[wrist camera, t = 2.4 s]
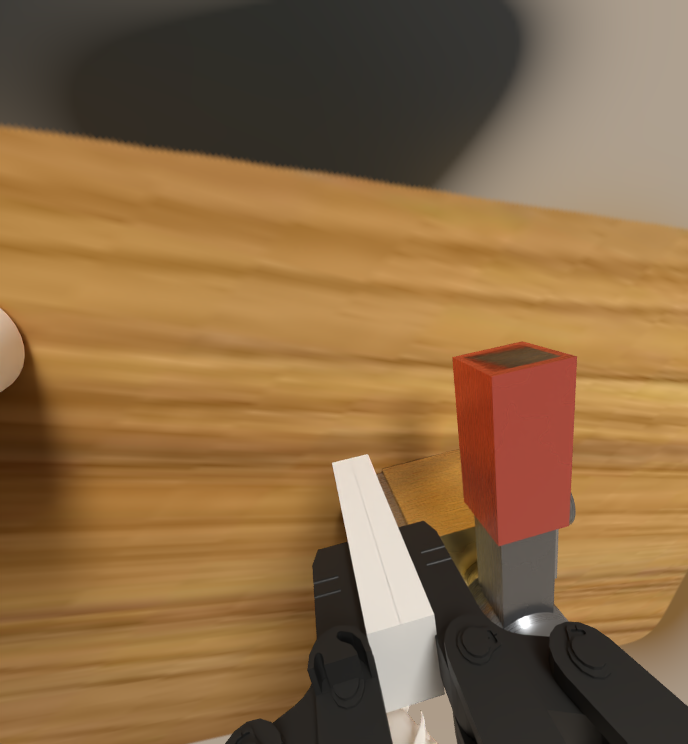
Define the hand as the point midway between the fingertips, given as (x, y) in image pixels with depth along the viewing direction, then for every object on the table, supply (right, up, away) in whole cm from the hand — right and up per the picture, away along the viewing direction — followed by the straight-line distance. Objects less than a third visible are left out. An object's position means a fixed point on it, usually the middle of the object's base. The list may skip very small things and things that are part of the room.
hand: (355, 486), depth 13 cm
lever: (+7, -2, +2) cm, 7 cm away
